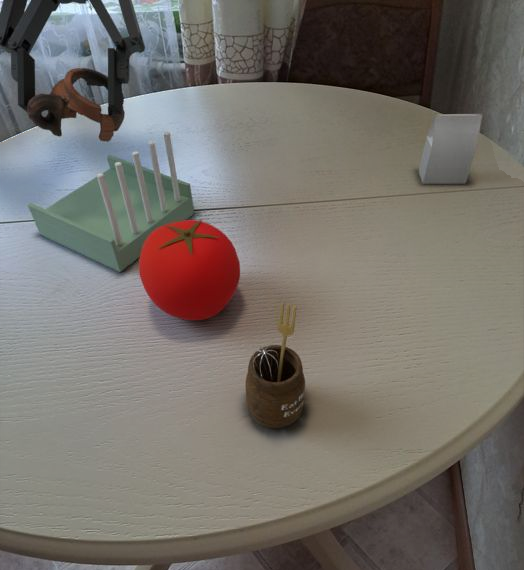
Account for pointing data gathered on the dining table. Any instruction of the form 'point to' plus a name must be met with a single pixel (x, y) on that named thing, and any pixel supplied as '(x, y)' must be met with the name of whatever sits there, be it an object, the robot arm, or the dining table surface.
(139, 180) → the dish rack
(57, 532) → the dining table surface
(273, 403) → the utensil holder
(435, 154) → the grey block
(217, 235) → the tomato
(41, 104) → the brown curved ring piece
